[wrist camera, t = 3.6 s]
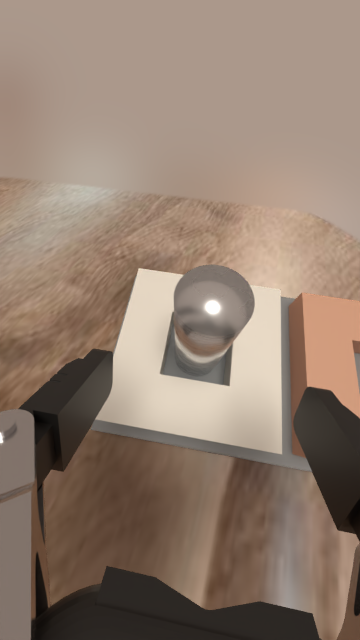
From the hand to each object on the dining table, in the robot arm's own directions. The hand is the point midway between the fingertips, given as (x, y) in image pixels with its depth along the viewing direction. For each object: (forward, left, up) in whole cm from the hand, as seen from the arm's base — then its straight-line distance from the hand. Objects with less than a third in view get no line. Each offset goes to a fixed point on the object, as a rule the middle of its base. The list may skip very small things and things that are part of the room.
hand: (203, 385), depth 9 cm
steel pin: (0, +4, -9) cm, 10 cm away
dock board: (+7, +4, -10) cm, 13 cm away
